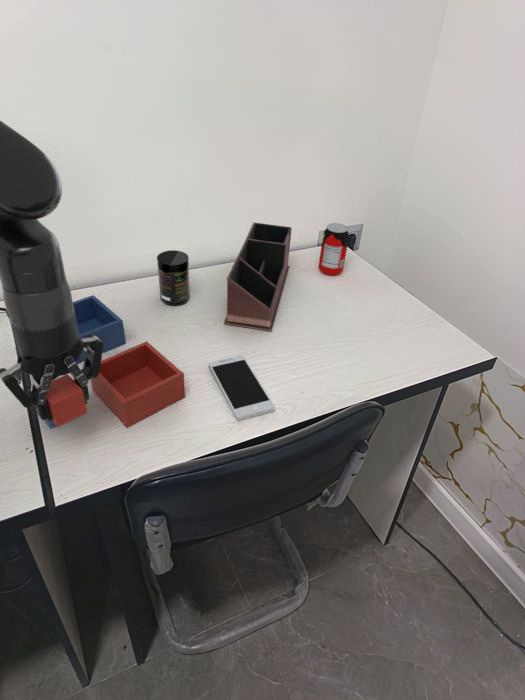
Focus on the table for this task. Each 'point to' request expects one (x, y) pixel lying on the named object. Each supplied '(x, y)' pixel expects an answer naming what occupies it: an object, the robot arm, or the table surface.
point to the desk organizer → (258, 277)
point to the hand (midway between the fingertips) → (65, 409)
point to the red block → (65, 400)
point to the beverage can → (333, 249)
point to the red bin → (138, 383)
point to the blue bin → (98, 323)
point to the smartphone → (241, 387)
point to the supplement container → (173, 277)
